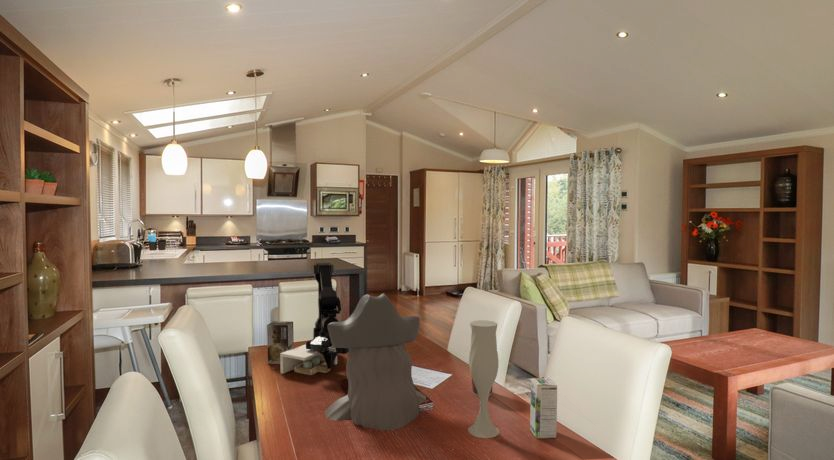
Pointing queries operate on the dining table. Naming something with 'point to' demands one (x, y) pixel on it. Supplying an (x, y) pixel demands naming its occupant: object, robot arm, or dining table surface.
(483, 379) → the vase
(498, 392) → the dining table surface
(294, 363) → the cream flanged slab
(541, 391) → the syrup box
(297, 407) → the dining table surface
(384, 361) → the grey sculpted piece
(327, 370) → the beige flat piece
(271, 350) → the coffee box
